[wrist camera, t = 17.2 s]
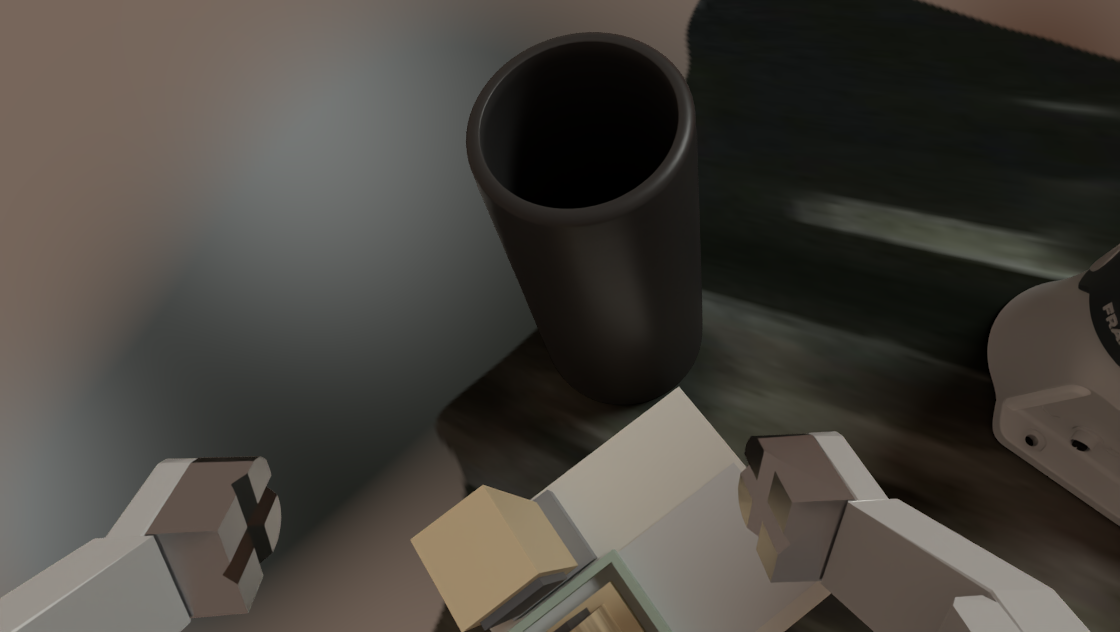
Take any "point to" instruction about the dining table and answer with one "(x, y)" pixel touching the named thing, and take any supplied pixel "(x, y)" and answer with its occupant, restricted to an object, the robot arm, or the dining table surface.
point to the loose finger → (601, 614)
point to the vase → (597, 207)
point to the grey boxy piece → (617, 539)
